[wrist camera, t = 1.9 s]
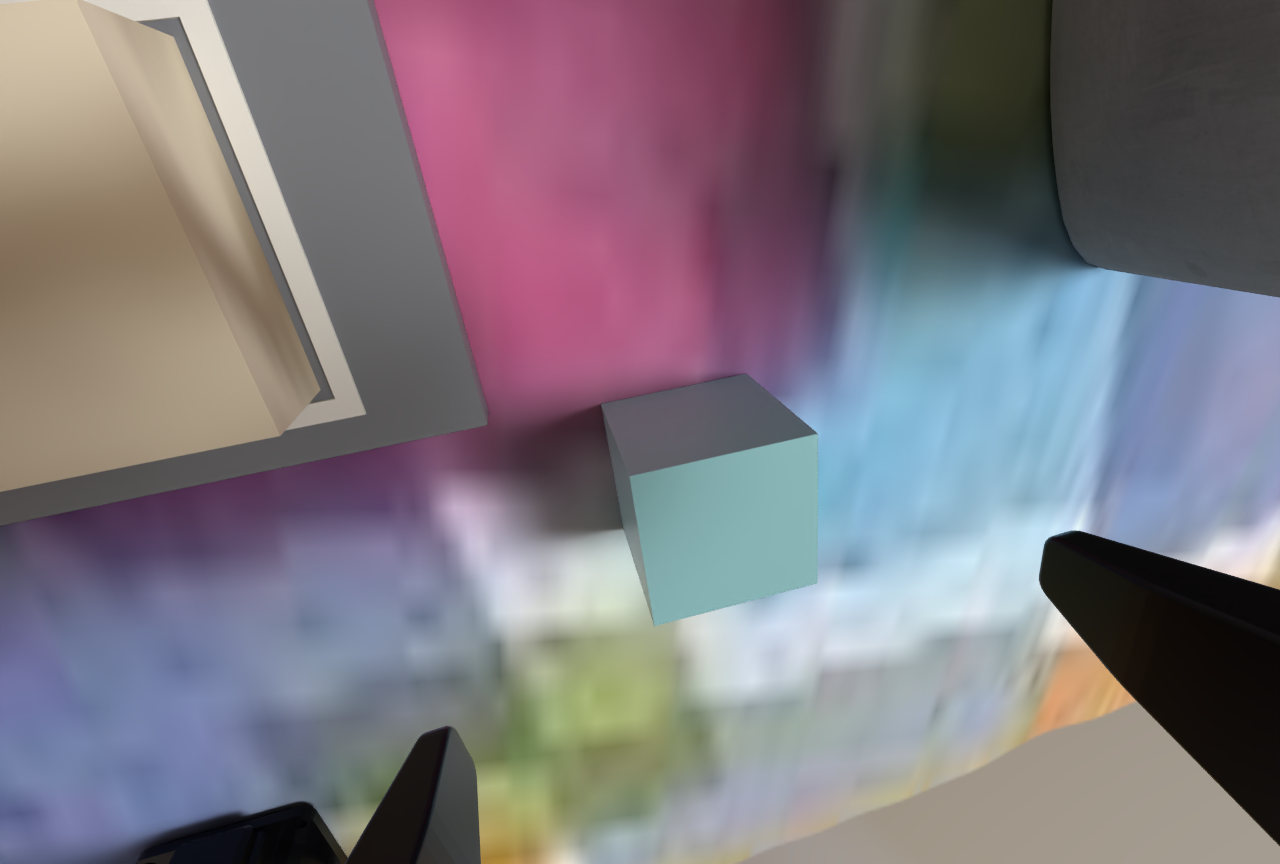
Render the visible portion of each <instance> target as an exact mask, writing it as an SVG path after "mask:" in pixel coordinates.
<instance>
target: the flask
mask: <svg viewBox="0 0 1280 864" xmlns="http://www.w3.org/2000/svg"><path fill="white" fill-rule="evenodd" d="M1050 103H1051V122H1052V140H1053V152H1054V161H1055V170H1056V180H1057V188H1058V193H1059V199H1060V205H1061V210H1062V216H1063V221H1064V224H1065V226H1066V229H1067V231H1068V234H1069V237H1070V239H1071V242H1072V244H1073V246H1074V247H1075V249H1076V250H1077V251H1078V252H1079V254H1080V255H1081V256H1082V257H1083V259H1084V260H1085V261H1086V262H1087V263H1089V264H1092V265H1095V266H1098V267H1101V268H1104V269H1107V270H1113V271H1120V272H1126V273H1132V274H1138V275H1144V276H1151V277H1157V278H1163V279H1169V280H1175V281H1181V282H1188V283H1194V284H1200V285H1206V286H1212V287H1219V288H1225V289H1231V290H1237V291H1243V292H1250V293H1256V294H1262V295H1268V296H1274V297H1280V0H1053V4H1052V27H1051V51H1050Z"/></svg>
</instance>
